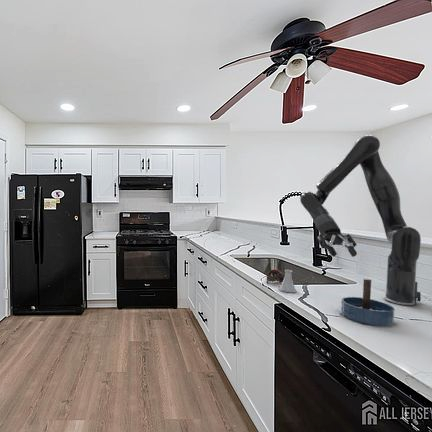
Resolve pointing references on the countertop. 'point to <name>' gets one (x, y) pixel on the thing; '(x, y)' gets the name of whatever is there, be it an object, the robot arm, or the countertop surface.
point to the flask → (288, 282)
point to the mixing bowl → (367, 311)
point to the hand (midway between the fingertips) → (344, 255)
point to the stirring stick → (366, 294)
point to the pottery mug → (275, 276)
